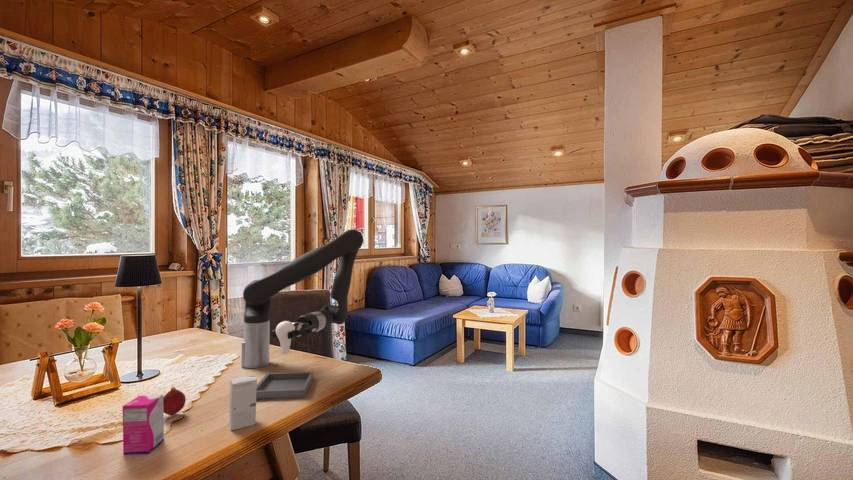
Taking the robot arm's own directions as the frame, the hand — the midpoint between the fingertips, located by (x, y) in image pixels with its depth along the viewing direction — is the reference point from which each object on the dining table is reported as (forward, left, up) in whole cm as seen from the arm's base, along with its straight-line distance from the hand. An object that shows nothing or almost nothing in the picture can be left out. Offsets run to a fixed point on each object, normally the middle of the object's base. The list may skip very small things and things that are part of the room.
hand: (280, 335), depth 118 cm
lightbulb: (+1, +2, -7) cm, 8 cm away
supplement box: (-23, -30, -19) cm, 42 cm away
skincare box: (-4, -21, -19) cm, 28 cm away
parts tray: (+1, +2, -18) cm, 19 cm away
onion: (-25, -14, -19) cm, 34 cm away
